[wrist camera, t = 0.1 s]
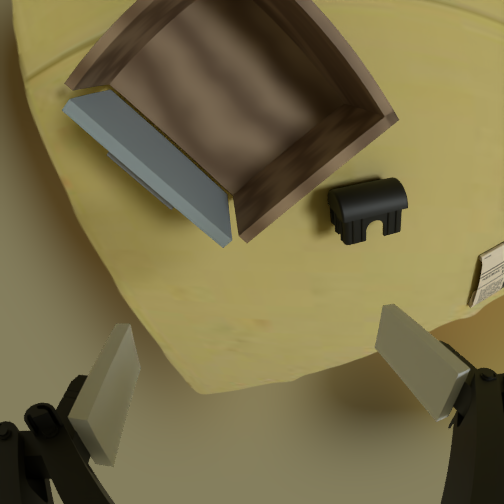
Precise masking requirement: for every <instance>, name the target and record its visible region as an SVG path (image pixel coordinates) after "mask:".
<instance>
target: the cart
mask: <svg viewBox="0 0 504 504" xmlns="http://www.w3.org/2000/svg"><path fill="white" fill-rule="evenodd" d="M65 84H66V85H67V86H68V87H69V88H70V89H71V90H78V89H83V88H89V87H95V86H101V85H108V84H110V85H111V86H112V87H113V88H114V89H115V90H117V91H118V92H119V93H120V94H121V95H122V96H123V97H125V98H126V99H127V100H128V101H129V102H130V103H132V104H133V105H134V106H135V107H136V108H137V109H138V110H139V111H141V112H142V113H143V114H144V115H145V116H146V117H147V118H149V119H150V120H151V121H152V122H153V123H154V124H155V125H156V126H157V127H159V128H160V129H161V130H162V131H163V132H164V133H165V134H166V135H168V136H169V137H170V138H171V139H172V140H173V141H174V142H175V143H176V144H177V145H179V146H180V147H181V148H182V149H183V150H184V151H185V152H186V153H187V154H188V155H190V156H191V157H192V158H193V159H194V160H195V161H196V162H197V163H198V164H199V165H200V166H202V167H203V168H204V169H205V170H206V171H207V172H208V173H209V174H210V175H211V176H212V177H213V178H214V179H216V180H217V181H218V182H219V183H220V184H221V185H222V186H223V187H224V188H225V189H226V190H227V191H228V192H229V193H231V194H232V195H233V200H234V207H235V214H236V220H237V227H238V234H239V237H240V238H242V239H243V240H244V241H245V242H246V243H248V242H249V241H250V240H252V239H253V238H254V237H255V236H257V235H258V234H259V233H260V232H261V231H263V230H264V229H265V228H266V227H267V226H269V225H270V224H271V223H272V222H274V221H275V220H276V219H277V218H278V217H280V216H281V215H282V214H283V213H285V212H286V211H287V210H288V209H289V208H291V207H292V206H293V205H294V204H296V203H297V202H298V201H299V200H300V199H302V198H303V197H304V196H305V195H307V194H308V193H309V192H310V191H311V190H313V189H314V188H315V187H316V186H318V185H319V184H320V183H321V182H323V181H324V180H325V179H326V178H328V177H329V176H330V175H331V174H332V173H334V172H335V171H336V170H337V169H339V168H340V167H341V166H342V165H344V164H345V163H346V162H347V161H349V160H350V159H351V158H352V157H353V156H355V155H356V154H357V153H358V152H360V151H361V150H362V149H363V148H365V147H366V146H367V145H368V144H370V143H371V142H372V141H373V140H375V139H376V138H377V137H378V136H380V135H381V134H382V133H383V132H385V131H386V130H387V129H388V128H390V127H391V126H392V125H393V124H395V123H396V122H397V121H398V120H399V119H398V117H397V115H396V114H395V112H394V110H393V108H392V107H391V105H390V103H389V102H388V100H387V99H386V97H385V95H384V94H383V92H382V91H381V89H380V87H379V86H378V84H377V83H376V81H375V80H374V78H373V77H372V75H371V74H370V72H369V71H368V70H367V68H366V67H365V65H364V64H363V62H362V61H361V60H360V58H359V57H358V56H357V54H356V53H355V51H354V50H353V49H352V47H351V46H350V45H349V44H348V42H347V41H346V40H345V38H344V37H343V36H342V35H341V33H340V32H339V31H338V30H337V29H336V27H335V26H334V25H333V24H332V23H331V21H330V20H329V19H328V18H327V17H326V16H325V14H324V13H323V12H322V11H321V10H320V9H319V8H318V7H317V6H316V4H315V3H314V2H313V1H312V0H137V1H136V2H135V3H134V4H133V5H132V6H131V7H130V8H129V9H128V10H127V11H126V12H125V13H124V14H123V15H122V16H121V17H120V18H119V19H118V20H117V21H116V22H115V23H114V24H113V25H112V26H111V27H110V28H109V29H108V30H107V31H106V32H105V33H104V34H103V36H102V37H101V38H100V39H99V40H98V41H97V42H96V44H95V45H94V46H93V47H92V48H91V49H90V51H89V52H88V53H87V54H86V56H85V57H84V58H83V59H82V61H81V62H80V63H79V64H78V66H77V67H76V68H75V70H74V71H73V72H72V74H71V75H70V76H69V78H68V79H67V80H66V82H65Z"/></svg>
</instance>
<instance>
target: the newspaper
mask: <svg viewBox="0 0 504 504" xmlns="http://www.w3.org/2000/svg"><path fill="white" fill-rule="evenodd" d="M480 256H481V257H480ZM480 256H479V257H480V258H479V259H480V262H481V261H482V271H481V276H480V282H479V286H478V290H476V291H474V292H473V294H472V296H471V299H470V302H469V303H468V305H469V307H470V308H471V307H473V306H474V305H476V304H478V303H479V302H481V301H483V300H484V299H486V298H488V297H489V296H491V295H492V294H494V293H496V292H497V291H499V290H500V289H502V288H503V287H504V242H503V243H501V244H499V245H498V246H496V247H494V248H492V249H490V250H489V251H487V252H485V253H483V254H481V255H480Z"/></svg>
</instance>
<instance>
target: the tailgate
mask: <svg viewBox="0 0 504 504" xmlns="http://www.w3.org/2000/svg"><path fill="white" fill-rule="evenodd" d="M62 111H63V112H64V113H66V114H67V115H68V116H69V117H70V118H71V119H72V120H74V121H75V122H76V123H77V124H78V125H79V126H80V127H81V128H83V129H84V130H85V131H86V132H87V133H88V134H89V135H91V136H92V137H93V138H94V139H95V140H96V141H98V142H99V143H100V144H101V145H102V146H103V147H104V148H106V149H107V150H108V151H109V152H108V154H107V156H108V157H109V158H111V159H112V160H113V161H114V162H115V163H116V164H118V165H119V166H120V167H121V168H122V169H123V170H125V171H126V172H127V173H128V174H129V175H130V176H132V177H133V178H134V179H135V180H136V181H138V182H139V183H140V184H141V185H142V186H143V187H145V188H146V189H147V190H148V191H149V192H150V193H152V194H153V195H154V196H155V197H156V198H158V199H159V200H160V201H161V202H162V203H164V204H165V205H166V206H167V207H168V208H170V209H171V210H172V209H173V208H174V207H175V208H176V209H177V210H178V211H179V212H181V213H182V214H183V215H184V216H185V217H187V218H188V219H189V220H190V221H191V222H193V223H194V224H195V225H196V226H197V227H199V228H200V229H201V230H202V231H203V232H205V233H206V234H207V235H208V236H209V237H211V238H212V239H213V240H214V241H215V242H217V243H218V244H219V245H220V246H221V247H223V248H224V247H225V246H226V245H227V244H228V243H230V242H231V241H232V234H231V225H230V216H229V206H228V197H227V194H226V193H225V192H224V191H223V190H222V189H221V188H220V187H218V186H217V185H216V184H215V183H214V182H213V181H212V180H211V179H210V178H209V177H208V176H207V175H205V174H204V173H203V172H202V171H201V170H200V169H199V168H198V167H197V166H196V165H195V164H193V163H192V162H191V161H190V160H189V159H188V158H187V157H186V156H185V155H184V154H183V153H181V152H180V151H179V150H178V149H177V148H176V147H175V146H174V145H173V144H171V143H170V142H169V141H168V140H167V139H166V138H165V137H164V136H163V135H161V134H160V133H159V132H158V131H157V130H156V129H155V128H154V127H152V126H151V125H150V124H149V123H148V122H147V121H146V120H145V119H143V118H142V117H141V116H140V115H139V114H138V113H137V112H136V111H134V110H133V109H132V108H131V107H130V106H129V105H128V104H126V103H125V102H124V101H123V100H122V99H121V98H120V97H118V96H117V95H116V94H115V93H114V92H113V91H111V90H107V91H102V92H97V93H92V94H88V95H84V96H80V97H76V98H72V99H69V100H68V102H67V103H66V105H65V106H64V108H63V109H62Z"/></svg>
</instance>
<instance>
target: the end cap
mask: <svg viewBox="0 0 504 504" xmlns="http://www.w3.org/2000/svg"><path fill="white" fill-rule="evenodd" d="M328 204H329V206H330V214H331V222H332V224H333V225H335V232H337V233H338V234H341V240H342V241H343V242H344V244H346V245H351V244H355V243H359V242H363V241H366V229H367V227H368V225H369V224H370V223H371V222H373V221H375V220H380V221H382V223H383V235H384V236H386V235H390V234H393V233H397V232H400V229H401V212H402V209H406V208H408V201H407V195H406V192H405V190H404V187H403V186H402V184H401V183H400V181H399V180H397V179H396V178H387V179H382V180H376V181H371V182H366V183H361V184H356V185H352V186H347V187H342V188H337V189H333V190H330V191H329V193H328Z"/></svg>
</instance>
